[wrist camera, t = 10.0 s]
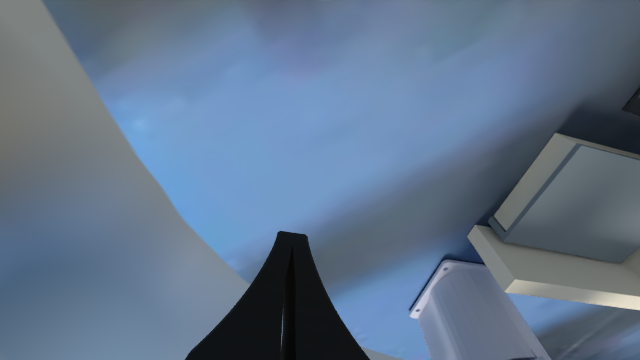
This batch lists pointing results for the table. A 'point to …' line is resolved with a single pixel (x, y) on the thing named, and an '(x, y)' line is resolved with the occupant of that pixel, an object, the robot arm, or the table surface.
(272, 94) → the table surface
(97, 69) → the table surface
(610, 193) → the book
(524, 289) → the cream corner tray
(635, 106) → the bookend
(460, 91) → the table surface
